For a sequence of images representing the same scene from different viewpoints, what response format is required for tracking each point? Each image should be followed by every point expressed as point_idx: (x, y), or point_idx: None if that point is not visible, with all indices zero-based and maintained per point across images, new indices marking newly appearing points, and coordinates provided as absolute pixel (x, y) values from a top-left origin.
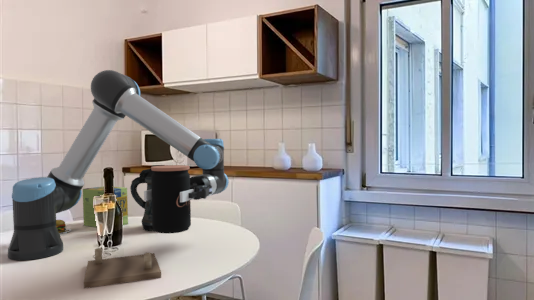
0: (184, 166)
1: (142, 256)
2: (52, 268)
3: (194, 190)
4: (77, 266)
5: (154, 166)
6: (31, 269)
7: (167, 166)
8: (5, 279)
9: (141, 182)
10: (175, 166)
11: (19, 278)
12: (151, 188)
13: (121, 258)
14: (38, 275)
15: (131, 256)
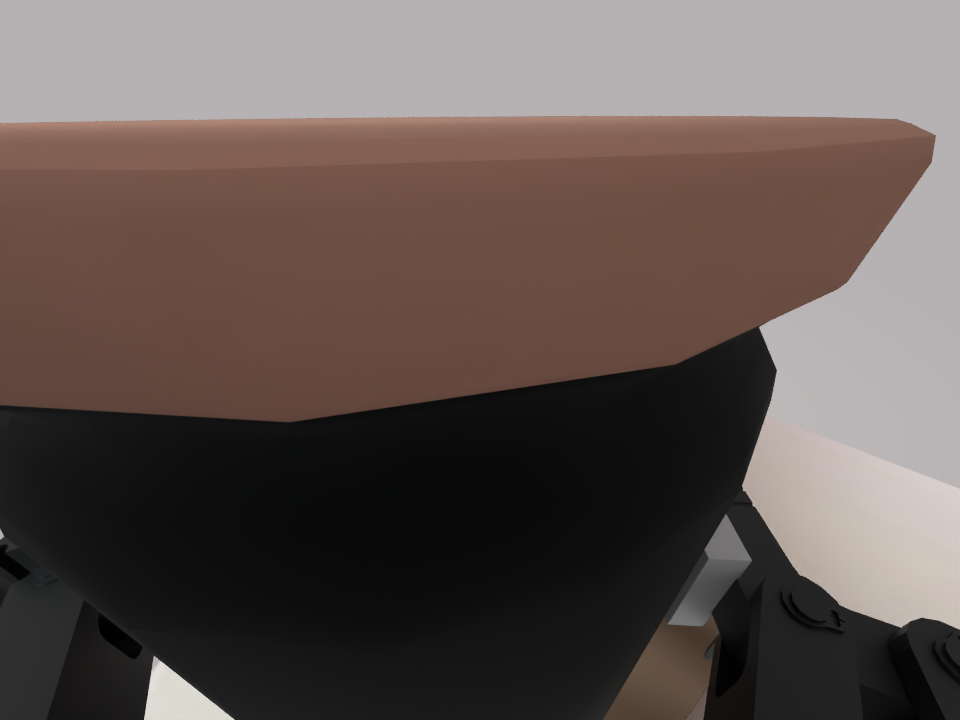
0: (97, 122)
1: (634, 692)
2: (855, 529)
3: (94, 621)
4: (811, 566)
5: (707, 116)
6: (898, 507)
7: (457, 118)
8: (826, 439)
9: None
10: (293, 120)
11: (807, 449)
12: (927, 621)
13: (699, 631)
14: (796, 473)
15: (687, 677)
